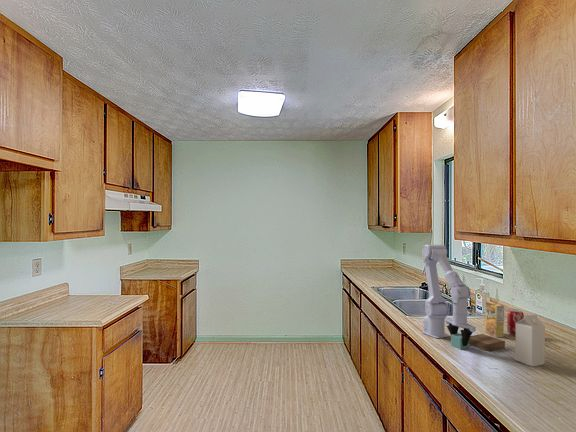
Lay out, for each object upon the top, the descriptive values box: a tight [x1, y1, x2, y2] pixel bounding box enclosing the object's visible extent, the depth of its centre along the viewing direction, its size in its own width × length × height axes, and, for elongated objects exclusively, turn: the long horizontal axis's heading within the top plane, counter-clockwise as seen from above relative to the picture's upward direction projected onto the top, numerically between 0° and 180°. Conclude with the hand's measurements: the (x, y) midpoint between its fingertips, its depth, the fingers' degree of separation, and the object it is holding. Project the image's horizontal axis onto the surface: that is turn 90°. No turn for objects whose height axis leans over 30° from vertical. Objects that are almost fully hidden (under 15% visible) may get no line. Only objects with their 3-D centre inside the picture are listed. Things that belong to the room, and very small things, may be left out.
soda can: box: [506, 308, 524, 337], centre depth 185 cm, size 7×7×12 cm
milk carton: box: [514, 313, 546, 367], centre depth 149 cm, size 7×7×19 cm
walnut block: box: [468, 333, 506, 352], centre depth 168 cm, size 11×11×4 cm
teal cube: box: [450, 332, 469, 350], centre depth 166 cm, size 5×5×5 cm
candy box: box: [484, 301, 505, 338], centre depth 185 cm, size 9×4×15 cm, turn 6°
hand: (459, 343), depth 166 cm, fingers closed on teal cube, 5 cm apart
